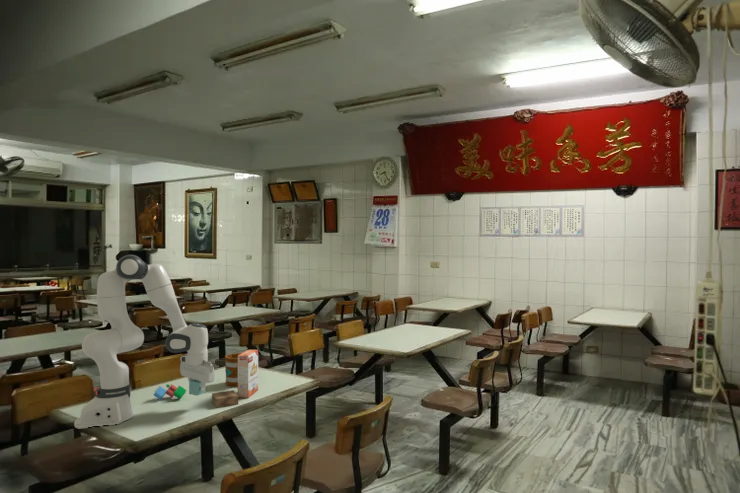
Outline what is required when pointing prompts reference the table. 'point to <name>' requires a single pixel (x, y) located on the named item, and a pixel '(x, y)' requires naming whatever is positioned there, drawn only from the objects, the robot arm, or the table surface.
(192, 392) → the teal block
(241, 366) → the cracker box
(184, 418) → the table surface
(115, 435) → the table surface
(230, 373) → the mug
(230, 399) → the walnut base block
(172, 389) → the building blocks
